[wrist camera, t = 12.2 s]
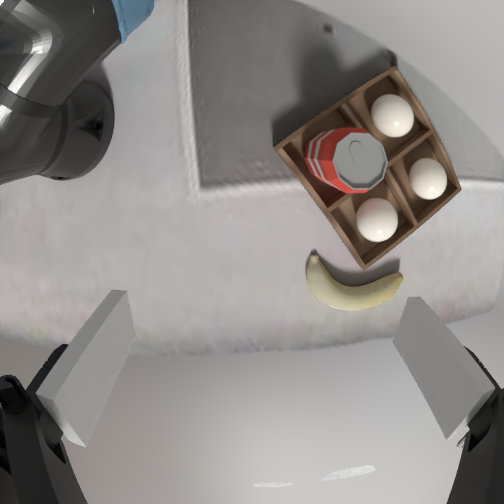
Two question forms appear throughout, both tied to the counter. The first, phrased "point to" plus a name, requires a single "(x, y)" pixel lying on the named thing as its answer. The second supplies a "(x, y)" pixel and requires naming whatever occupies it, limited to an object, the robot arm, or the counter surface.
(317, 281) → the fruit
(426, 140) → the crate
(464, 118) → the counter surface
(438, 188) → the egg
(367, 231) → the egg
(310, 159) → the beverage can
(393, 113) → the egg
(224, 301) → the counter surface
